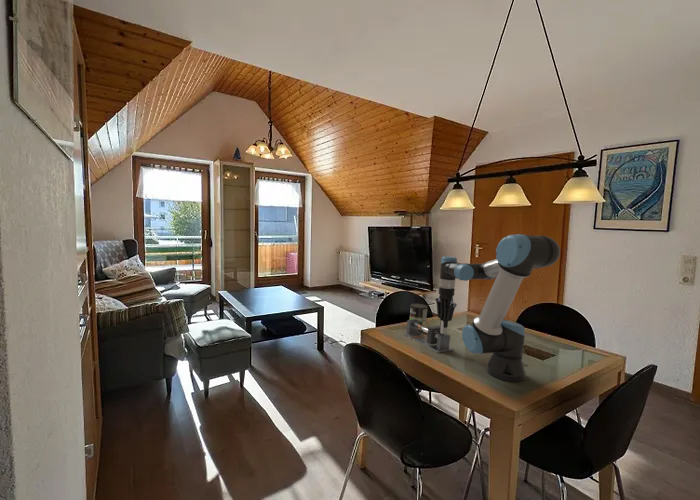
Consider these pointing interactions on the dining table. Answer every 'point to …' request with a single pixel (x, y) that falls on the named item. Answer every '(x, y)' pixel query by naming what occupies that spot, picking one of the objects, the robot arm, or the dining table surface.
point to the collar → (431, 333)
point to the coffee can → (419, 313)
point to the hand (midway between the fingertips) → (443, 333)
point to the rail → (413, 333)
